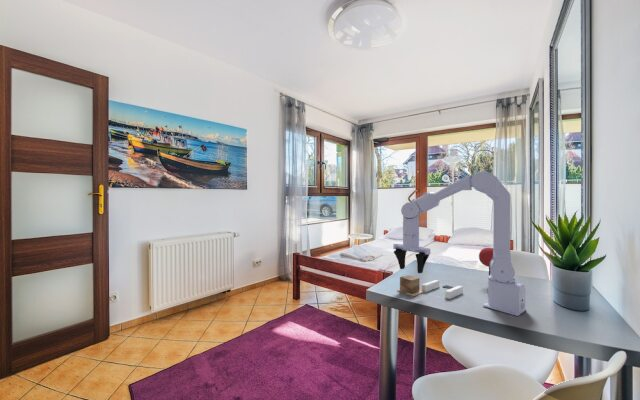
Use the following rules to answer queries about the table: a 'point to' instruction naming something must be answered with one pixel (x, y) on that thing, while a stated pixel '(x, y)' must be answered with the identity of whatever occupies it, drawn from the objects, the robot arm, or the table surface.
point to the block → (409, 284)
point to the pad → (413, 293)
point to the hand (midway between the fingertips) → (411, 270)
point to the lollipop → (486, 256)
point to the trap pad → (448, 287)
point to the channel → (448, 293)
